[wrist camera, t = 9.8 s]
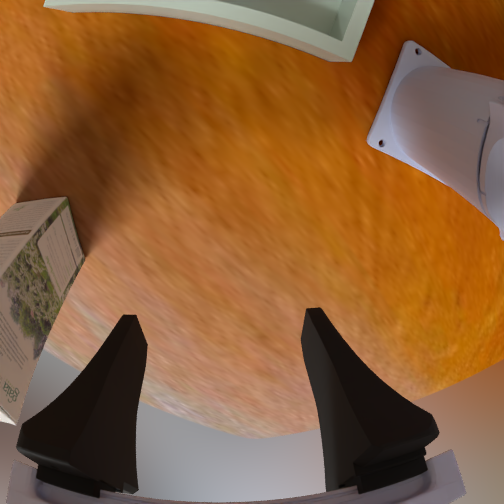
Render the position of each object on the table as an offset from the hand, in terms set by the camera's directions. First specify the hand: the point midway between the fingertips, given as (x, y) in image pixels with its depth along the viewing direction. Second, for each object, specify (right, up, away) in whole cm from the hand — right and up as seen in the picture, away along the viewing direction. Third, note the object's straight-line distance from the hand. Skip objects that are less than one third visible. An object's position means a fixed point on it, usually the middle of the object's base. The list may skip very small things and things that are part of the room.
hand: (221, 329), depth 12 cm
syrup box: (-14, +5, +7) cm, 17 cm away
